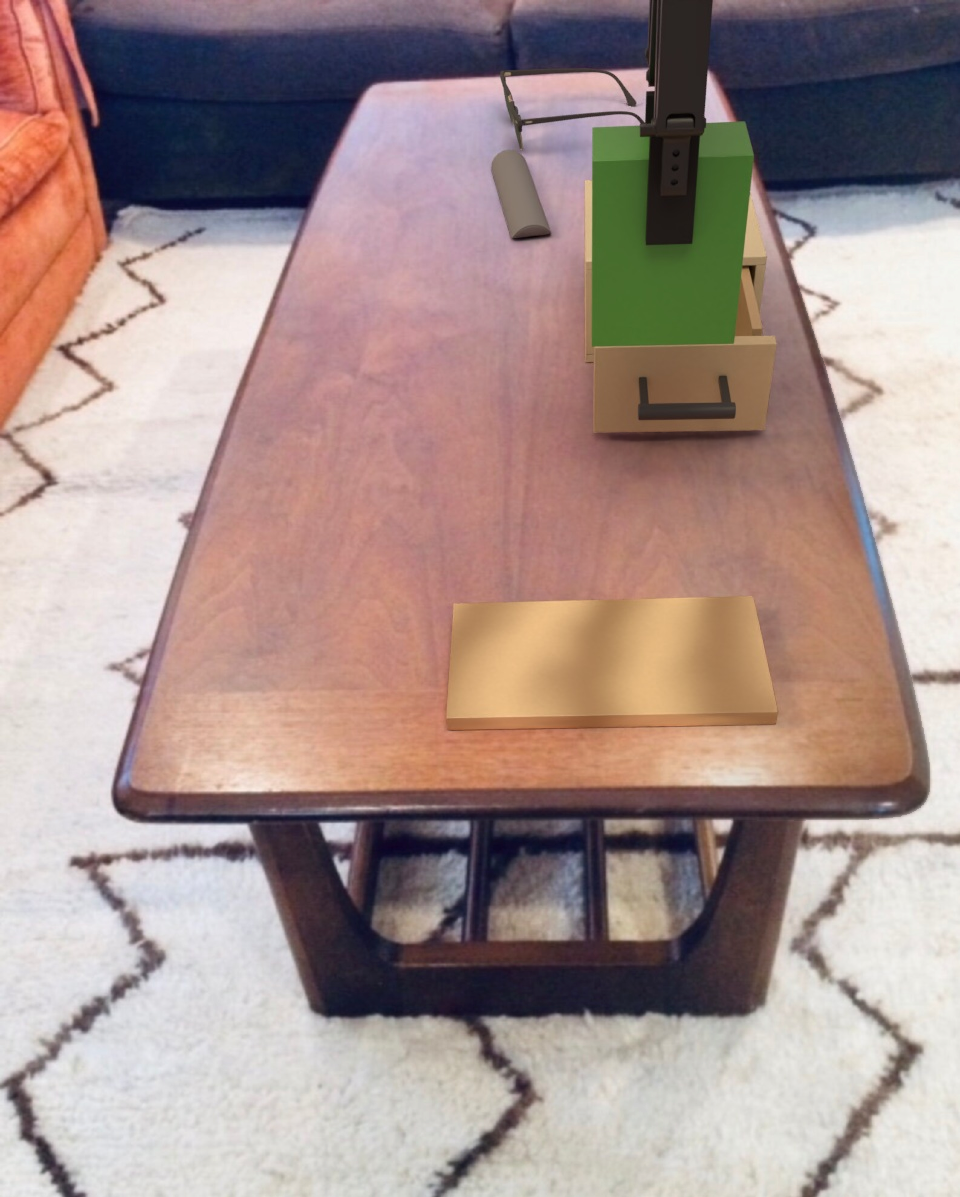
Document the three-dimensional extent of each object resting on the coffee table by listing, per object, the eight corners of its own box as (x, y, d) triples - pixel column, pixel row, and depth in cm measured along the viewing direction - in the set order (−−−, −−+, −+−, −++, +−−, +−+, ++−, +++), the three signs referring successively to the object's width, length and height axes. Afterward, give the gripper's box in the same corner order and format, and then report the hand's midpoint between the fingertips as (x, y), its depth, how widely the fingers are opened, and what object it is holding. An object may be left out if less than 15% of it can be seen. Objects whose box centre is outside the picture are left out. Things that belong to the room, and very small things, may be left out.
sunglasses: (659, 147, 128) (661, 103, 125) (516, 162, 128) (514, 118, 124) (631, 96, 140) (632, 54, 136) (499, 110, 139) (497, 69, 136)
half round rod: (512, 243, 113) (511, 227, 112) (490, 166, 127) (489, 151, 126) (552, 239, 113) (552, 222, 112) (526, 162, 127) (526, 147, 126)
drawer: (772, 468, 83) (785, 379, 77) (594, 470, 84) (595, 383, 78) (744, 333, 96) (754, 250, 91) (591, 336, 98) (592, 255, 92)
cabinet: (754, 359, 95) (767, 256, 88) (585, 362, 96) (585, 261, 90) (735, 271, 106) (746, 174, 99) (584, 275, 107) (584, 179, 101)
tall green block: (734, 344, 70) (754, 154, 61) (591, 346, 70) (592, 160, 62) (727, 304, 73) (745, 120, 65) (591, 307, 74) (592, 126, 66)
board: (751, 608, 74) (753, 595, 73) (775, 724, 66) (778, 711, 66) (454, 615, 75) (453, 603, 74) (447, 730, 68) (445, 718, 67)
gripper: (608, -279, 58) (603, 162, 74) (613, -227, 45) (605, 294, 61) (753, -290, 57) (716, 158, 73) (801, -241, 44) (743, 291, 60)
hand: (666, 219), depth 67 cm, fingers closed on tall green block, 5 cm apart
